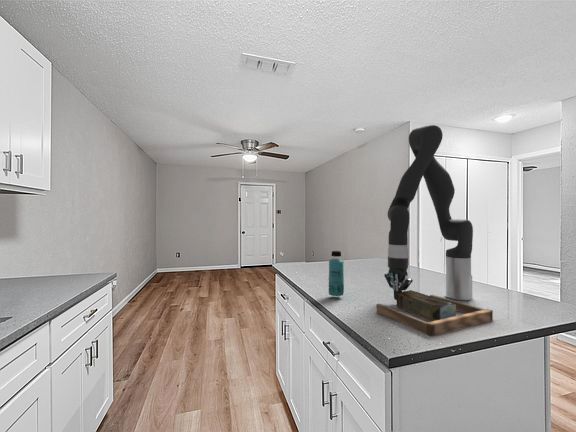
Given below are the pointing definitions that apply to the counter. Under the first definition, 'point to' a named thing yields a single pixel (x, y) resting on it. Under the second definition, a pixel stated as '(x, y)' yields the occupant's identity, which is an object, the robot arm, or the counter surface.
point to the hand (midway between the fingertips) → (397, 299)
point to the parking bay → (444, 325)
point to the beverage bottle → (336, 275)
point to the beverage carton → (425, 305)
